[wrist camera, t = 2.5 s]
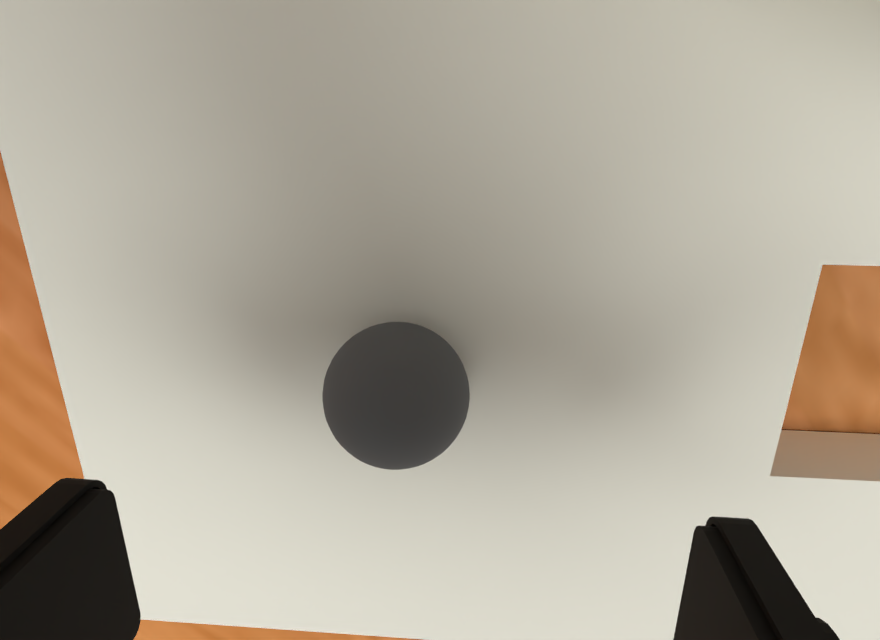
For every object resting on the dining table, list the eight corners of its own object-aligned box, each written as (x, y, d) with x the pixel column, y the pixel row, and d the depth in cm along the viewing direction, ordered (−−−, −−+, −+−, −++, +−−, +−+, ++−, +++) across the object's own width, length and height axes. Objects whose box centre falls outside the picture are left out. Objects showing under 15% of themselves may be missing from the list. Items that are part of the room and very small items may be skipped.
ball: (338, 299, 15) (296, 355, 12) (473, 303, 15) (469, 362, 12) (345, 417, 16) (310, 497, 13) (469, 422, 16) (465, 505, 13)
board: (159, 563, 22) (120, 617, 20) (28, -44, 15) (-57, -69, 13) (1056, 620, 20) (1132, 689, 18) (1407, -60, 13) (1612, -96, 10)
